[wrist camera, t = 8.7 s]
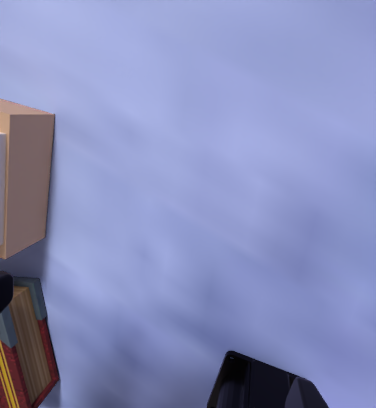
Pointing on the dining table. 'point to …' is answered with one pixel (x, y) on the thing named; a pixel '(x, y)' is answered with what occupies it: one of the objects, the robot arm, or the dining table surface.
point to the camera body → (23, 175)
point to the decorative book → (25, 348)
